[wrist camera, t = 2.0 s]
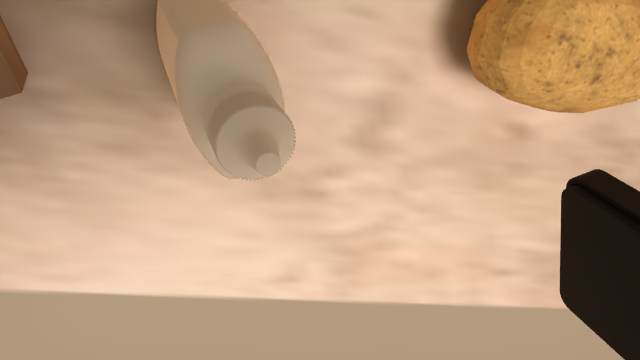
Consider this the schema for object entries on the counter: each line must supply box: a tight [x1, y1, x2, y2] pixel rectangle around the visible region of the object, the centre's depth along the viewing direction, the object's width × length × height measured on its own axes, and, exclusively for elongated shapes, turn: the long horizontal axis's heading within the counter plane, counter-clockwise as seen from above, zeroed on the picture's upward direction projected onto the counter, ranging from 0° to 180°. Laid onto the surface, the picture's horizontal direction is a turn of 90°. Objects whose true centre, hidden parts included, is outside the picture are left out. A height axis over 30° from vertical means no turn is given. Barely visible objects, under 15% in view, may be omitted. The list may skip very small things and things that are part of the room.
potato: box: [467, 0, 640, 113], centre depth 29 cm, size 7×11×6 cm, turn 74°
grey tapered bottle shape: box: [156, 0, 296, 180], centre depth 21 cm, size 4×6×12 cm
